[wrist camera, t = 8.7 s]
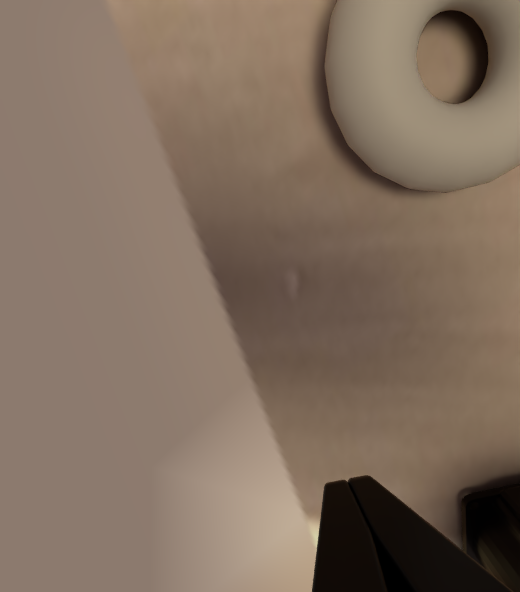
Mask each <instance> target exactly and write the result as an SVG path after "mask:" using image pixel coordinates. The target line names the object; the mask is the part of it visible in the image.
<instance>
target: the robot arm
mask: <svg viewBox="0 0 520 592" xmlns="http://www.w3.org/2000/svg"><path fill="white" fill-rule="evenodd" d="M462 543H463V550H461V549H460V548H459V547H458V546H456V545H455V544H454V543H453V542H451V541H450V540H449V539H448V538H446V537H445V536H444V535H443V534H441V533H440V532H439V531H438V530H437V529H435V528H434V527H433V526H432V525H430V524H429V523H428V522H427V521H425V520H424V519H423V518H422V517H420V516H419V515H418V514H417V513H415V512H414V511H413V510H412V509H411V508H409V507H408V506H407V505H406V504H404V503H403V502H402V501H401V500H399V499H398V498H397V497H396V496H394V495H393V494H392V493H391V492H390V491H388V490H387V489H386V488H385V487H383V486H382V485H381V484H380V483H378V482H377V481H376V480H375V479H373V478H372V477H371V476H368V475H365V476H360V477H354V478H350V479H349V480H348V482H347V481H346V480H339V481H334V482H329V483H326V484H325V486H324V494H323V502H322V511H321V519H320V528H319V536H318V545H317V553H316V562H315V570H314V579H313V588H312V592H520V484H517V485H512V486H507V487H501V488H496V489H491V490H486V491H481V492H476V493H471V494H468V495H466V496H465V497H464V498H463V499H462Z"/></svg>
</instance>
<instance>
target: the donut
mask: <svg viewBox="0 0 520 592" xmlns="http://www.w3.org/2000/svg"><path fill="white" fill-rule="evenodd" d="M447 10H456V11H462V12H464V13H465V14H467V15H469V16H470V17H472V18H473V19H474V20H475V22H476V23H477V24H478V25H479V27H480V28H481V29H482V31H483V34H484V37H485V39H486V42H487V45H488V62H489V63H488V67H487V72H486V76H485V79H484V81H483V83H482V85H481V87H480V89H479V90H478V91H477V92H476V93H475V94H474V95H473V96H472V97H471V98H470V99H469V100H467V101H465V102H462V103H458V104H450V103H445V102H443V101H441V100H439V99H437V98H435V97H434V96H432V94H431V93H430V92H429V91H428V90H427V89H426V87H425V86H424V84H423V82H422V79H421V77H420V74H419V72H418V67H417V56H416V54H417V48H418V43H419V37H420V35H421V33H422V31H423V29H424V27H425V25H426V23H427V22H428V21H429V20H430V19H431V18H432V17H433V16H435V15H436V14H438V13H439V12H443V11H447ZM324 69H325V76H326V82H327V89H328V95H329V101H330V108H331V111H332V113H333V115H334V117H335V119H336V122H337V124H338V126H339V128H340V130H341V132H342V134H343V136H344V138H345V140H346V142H347V144H348V146H349V147H350V148H351V149H352V150H353V151H354V152H355V153H356V154H357V155H358V156H359V157H360V158H361V159H362V160H363V161H364V162H365V163H366V164H367V165H368V166H369V167H370V168H371V170H372V171H373V172H375V173H377V174H379V175H381V176H383V177H385V178H388V179H390V180H392V181H394V182H396V183H398V184H400V185H402V186H404V187H406V188H409V189H414V190H424V191H434V192H443V193H447V192H451V191H455V190H460V189H464V188H468V187H473V186H477V185H481V184H485V183H489V182H491V181H493V180H494V179H496V178H498V177H499V176H501V175H503V174H505V173H506V172H508V171H510V170H511V169H513V168H515V167H517V166H518V165H520V0H337V2H336V5H335V7H334V9H333V12H332V14H331V18H330V24H329V32H328V40H327V48H326V56H325V64H324Z"/></svg>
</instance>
